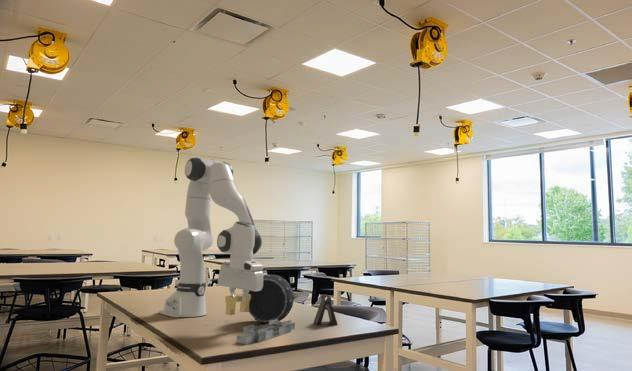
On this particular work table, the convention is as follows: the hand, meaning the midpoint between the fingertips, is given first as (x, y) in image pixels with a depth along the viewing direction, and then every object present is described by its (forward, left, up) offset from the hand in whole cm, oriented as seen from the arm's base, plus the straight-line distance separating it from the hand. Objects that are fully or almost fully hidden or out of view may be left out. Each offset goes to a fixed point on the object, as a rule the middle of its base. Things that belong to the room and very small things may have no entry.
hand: (238, 300), depth 162 cm
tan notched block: (0, 0, -5) cm, 5 cm away
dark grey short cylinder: (0, +20, -12) cm, 24 cm away
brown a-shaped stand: (+20, +33, -12) cm, 41 cm away
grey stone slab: (+13, +2, -12) cm, 17 cm away
